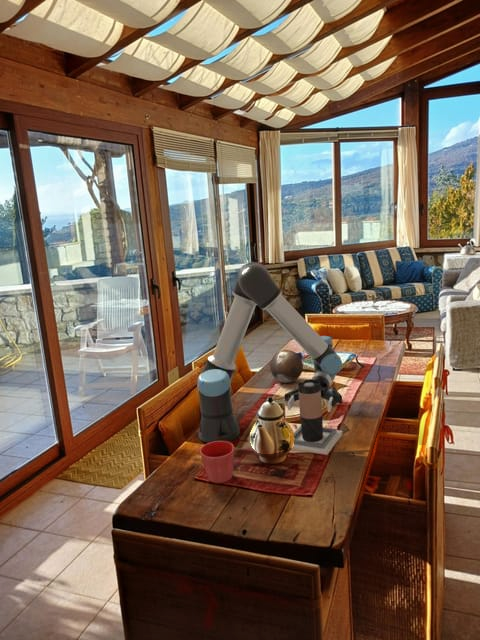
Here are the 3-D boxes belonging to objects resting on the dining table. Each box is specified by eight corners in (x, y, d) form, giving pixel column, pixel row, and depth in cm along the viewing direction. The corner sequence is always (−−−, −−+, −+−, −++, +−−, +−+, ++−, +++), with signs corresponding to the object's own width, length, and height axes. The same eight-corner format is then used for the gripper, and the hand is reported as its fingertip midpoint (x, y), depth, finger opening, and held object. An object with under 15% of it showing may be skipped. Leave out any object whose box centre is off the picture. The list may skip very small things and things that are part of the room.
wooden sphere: (268, 387, 234) (266, 356, 231) (274, 376, 248) (271, 346, 245) (301, 387, 231) (299, 355, 227) (305, 376, 245) (303, 345, 241)
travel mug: (323, 442, 175) (319, 387, 171) (300, 442, 177) (296, 387, 172) (324, 432, 182) (320, 378, 178) (302, 432, 184) (298, 379, 180)
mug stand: (282, 447, 177) (281, 441, 176) (300, 428, 190) (299, 422, 190) (327, 454, 169) (326, 448, 169) (342, 434, 183) (342, 427, 182)
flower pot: (207, 489, 155) (203, 460, 153) (200, 472, 166) (196, 444, 164) (241, 481, 158) (238, 452, 156) (232, 465, 168) (229, 437, 166)
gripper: (354, 395, 190) (346, 419, 170) (288, 393, 198) (273, 415, 179) (353, 376, 188) (345, 398, 169) (286, 374, 196) (271, 395, 177)
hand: (308, 407), depth 174 cm, fingers open, 13 cm apart
